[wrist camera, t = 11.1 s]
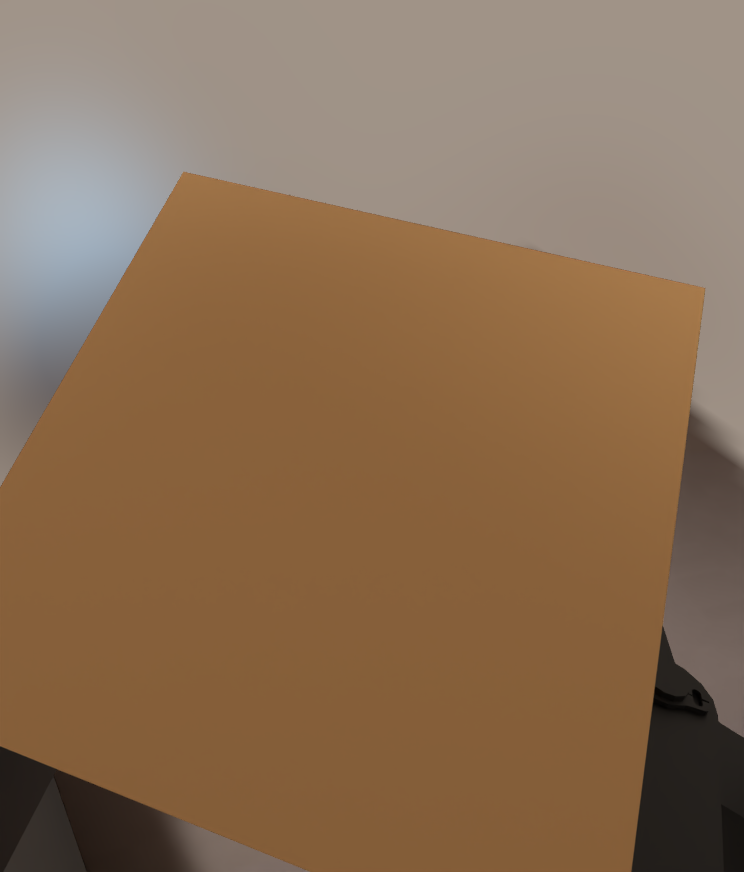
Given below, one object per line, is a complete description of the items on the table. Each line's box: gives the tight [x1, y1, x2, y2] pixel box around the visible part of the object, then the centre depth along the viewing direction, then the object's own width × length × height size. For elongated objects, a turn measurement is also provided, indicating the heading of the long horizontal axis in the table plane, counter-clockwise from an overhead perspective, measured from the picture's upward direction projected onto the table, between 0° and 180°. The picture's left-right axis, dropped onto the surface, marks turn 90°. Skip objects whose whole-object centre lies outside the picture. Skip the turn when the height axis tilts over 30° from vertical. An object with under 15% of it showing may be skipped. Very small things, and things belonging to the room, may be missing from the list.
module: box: [0, 172, 705, 872], centre depth 11 cm, size 5×5×14 cm
